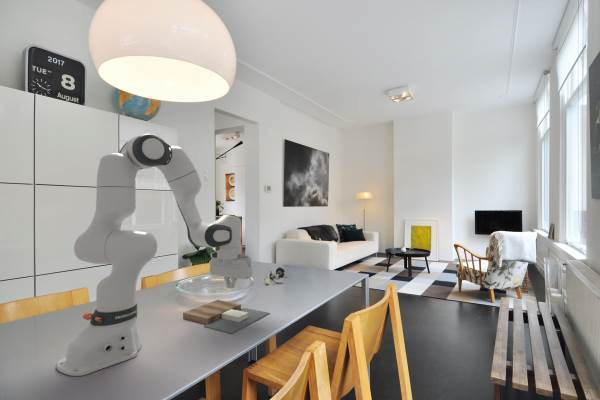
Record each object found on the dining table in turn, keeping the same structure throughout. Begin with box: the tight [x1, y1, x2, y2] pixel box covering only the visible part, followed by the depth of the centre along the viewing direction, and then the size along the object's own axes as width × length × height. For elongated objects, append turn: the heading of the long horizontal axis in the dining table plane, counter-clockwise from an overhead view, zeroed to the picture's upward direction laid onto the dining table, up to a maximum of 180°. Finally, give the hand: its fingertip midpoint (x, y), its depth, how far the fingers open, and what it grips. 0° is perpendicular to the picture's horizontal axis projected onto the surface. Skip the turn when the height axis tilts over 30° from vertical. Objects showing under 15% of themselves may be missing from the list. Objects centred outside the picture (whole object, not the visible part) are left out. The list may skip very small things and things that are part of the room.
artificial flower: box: [262, 267, 286, 287], centre depth 193 cm, size 9×22×10 cm, turn 160°
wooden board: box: [182, 299, 242, 326], centre depth 136 cm, size 20×14×2 cm
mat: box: [203, 307, 270, 335], centre depth 129 cm, size 24×14×1 cm, turn 151°
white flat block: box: [222, 309, 248, 322], centre depth 130 cm, size 6×9×2 cm, turn 61°
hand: (230, 287), depth 130 cm, fingers closed
